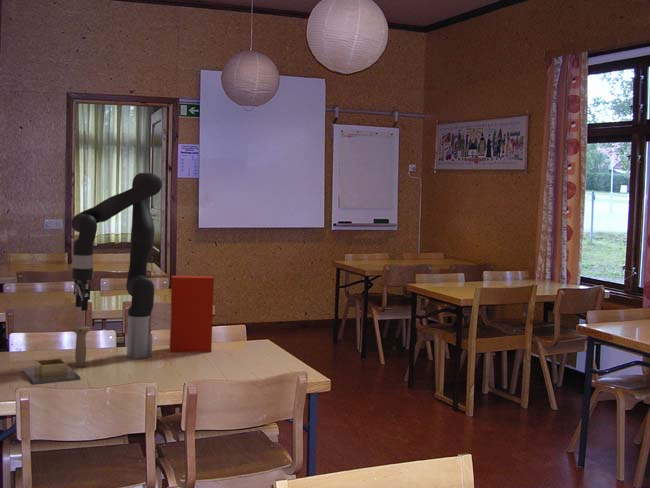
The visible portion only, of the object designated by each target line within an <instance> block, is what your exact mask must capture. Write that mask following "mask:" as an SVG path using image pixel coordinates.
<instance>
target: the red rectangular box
mask: <svg viewBox="0 0 650 488" xmlns="http://www.w3.org/2000/svg"><path fill="white" fill-rule="evenodd" d="M214 283H215V278H214V277H213V276H212V275H210V276H209V275H171V284H170V285H171V289H170V291H171V292H170V295H171V297H170V319H169V320H170V325H169V330H170V331H169V353H208V352H209V353H210V352H211V353H212V347H213V346H212V344H213V343H212V342H213V315H214V314H213V313H214V312H213V311H214Z"/></svg>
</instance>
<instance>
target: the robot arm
mask: <svg viewBox="0 0 650 488" xmlns="http://www.w3.org/2000/svg"><path fill="white" fill-rule="evenodd" d="M162 187H163V181H162V179H161V177H160V176H159V175H158V174H156V173H152V172H151V173H150V172H139V173H136V174H135V176H134V177H133V179H132V182H131V188H130V189H126V190H125V191H123V192H120V193H117V194H114V195H112V196H110V197H108V198H106V199H104V200H103V201H101V202H100V203H97V204H96V205H95V206H93V207H90V208H87V209H85V210H83V211H81V212H78V213H77V214H76V215H74V216H73V218H72V219H71V222H70V224H71V229H73V230H74V231H75V232H76V233H78V238H77V239H76V240H74V242H73V252H72V253H73V257H72V262H71V263H72V265H71V279H72V280H74V281H73V285H74V286H73V295H74V297H75V303H74V304H75V307H76V308H81V309H80V310H81V311H82V312H83V311H85V312H87V311H88V310H89V309H88V308H89V306H88V305H89V303H88V302H89V301H90V300H91V284H90V283H88V281H89V280H93V277H94V255H93V254H94V242H95V238H96V236H97V230H98V224H99V223H103V222H107V221H108V220H110V219H112V218H113V217H115V216H117V215H118V214H120V213H121V212H123V211H124V210H126V209H128V208H129V207H131V206H132V215H131V216H132V217H131V229H130V246H129V247H130V251H129V268H128V273H127V279H126V285H125V287H126V291H127V293H128V294H129V295H130V296H131V303H130V304H131V305H130V306H129V307H128V311H127V333H126V334H127V337H126V338H127V342H126V343H127V344H126V345H127V346H126V347H127V348H126V357H127V358H128V359H133V360H141V359H148V358H152V356H153V333H151V332H152V331H151V330H152V311H153V308H154V299H155V285H154V282H153V281H152V280H151V279H150V278H148V277H147V274H148V272H147V271H148V269H147V268H148V267H147V266H148V261H149V259H150V256H151V254H152V251H153V248H154V245H155V244H154V242H155V225H154V221H153V218H152V215H151V211H150V199H151V198H150V197H154V196H156V195H157V194H159V193H160V191H161V190H162Z"/></svg>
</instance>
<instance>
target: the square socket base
mask: <svg viewBox="0 0 650 488" xmlns="http://www.w3.org/2000/svg"><path fill="white" fill-rule="evenodd" d="M21 372H23V374H24V375H25V376H26V377H27V379H28V380H29V381H30V380H31V381H30V382H31V383H32V384H33V385H39V384H49V383H59V382H68V381H77V380H81V376H80V375H79V374H78V373H76V371H74V370H73V369H72V368H71V367H70V366H69V365H68V362H66V360H64V359H63V358H62V357H61V358H50V359H38V360H37V359H36V360H34V367H25V368H24V367H23V368H21Z"/></svg>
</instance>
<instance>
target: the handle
mask: <svg viewBox="0 0 650 488" xmlns="http://www.w3.org/2000/svg"><path fill="white" fill-rule="evenodd" d="M90 331H91V327H90V326H85V325H84V326H83V325H79V326H72V332H74V333H75V334H76V338H75V349H74V351H75V352H74V356H75V362H76V363H75V366H76V367H80V368H81V367H85V365H86V359H87V340H86V339H87V336H86V335H87V333H89V332H90Z"/></svg>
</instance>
